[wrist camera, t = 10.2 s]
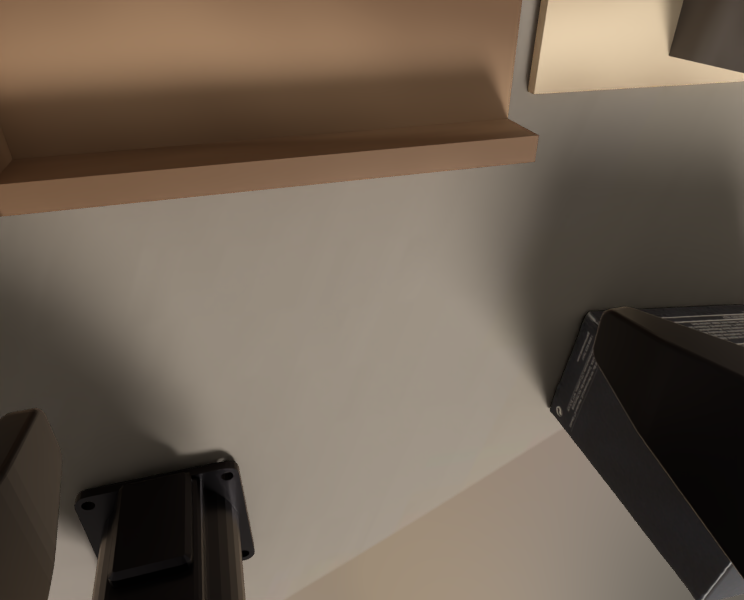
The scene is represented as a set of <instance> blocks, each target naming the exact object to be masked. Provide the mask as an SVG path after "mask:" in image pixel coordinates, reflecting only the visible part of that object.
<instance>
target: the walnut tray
mask: <svg viewBox="0 0 744 600" xmlns="http://www.w3.org/2000/svg"><path fill="white" fill-rule="evenodd" d="M521 5H522V0H0V217H1V216H11V215H20V214H30V213H40V212H50V211H59V210H69V209H79V208H89V207H98V206H108V205H118V204H128V203H137V202H147V201H157V200H167V199H176V198H186V197H196V196H206V195H215V194H225V193H235V192H245V191H254V190H264V189H274V188H284V187H293V186H303V185H313V184H323V183H332V182H342V181H352V180H362V179H371V178H381V177H391V176H401V175H410V174H420V173H430V172H439V171H449V170H459V169H469V168H478V167H488V166H498V165H508V164H517V163H527V162H535V157H536V150H537V144H538V137H539V135H537V134H535V133H533V132H532V131H530V130H528V129H526V128H524V127H522V126H520V125H519V124H517V123H515V122H513V121H511V120H509V119H508V111H509V103H510V95H511V87H512V78H513V70H514V62H515V54H516V46H517V38H518V30H519V21H520V13H521Z"/></svg>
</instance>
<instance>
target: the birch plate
mask: <svg viewBox="0 0 744 600" xmlns="http://www.w3.org/2000/svg"><path fill="white" fill-rule="evenodd" d="M740 81H744V0H541V4H540V11H539V18H538V24H537V31H536V38H535V45H534V52H533V59H532V65H531V72H530V79H529V86H528V92H530V93H533V94H544V93H560V92H577V91H593V90H609V89H626V88H642V87H658V86H675V85H691V84H707V83H724V82H740Z"/></svg>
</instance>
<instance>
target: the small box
mask: <svg viewBox="0 0 744 600" xmlns="http://www.w3.org/2000/svg"><path fill="white" fill-rule="evenodd" d="M637 310H640V311H643V312H646V313H649V314H652V315H655V316H658V317H660V318H663V319H666V320H669V321H672V322H675V323H678V324H681V325H684V326H687V327H689V328H692V329H695V330H698V331H701V332H704V333H707V334H710V335H713V336H715V337H718V338H721V339H724V340H727V341H730V342H733V343H736V344H739V345H741V346H744V305H724V306H701V307H700V306H698V307H678V308H652V309H637ZM603 313H604V311H590V312H588V314H587V315H586V316H585V319H584V321H583V323H582V325H581V329H580V332H579V335H578V338H577V340H576V343H575V345H574V348H573V351H572V353H571V356H570V358H569V361H568V363H567V366H566V368H565V371H564V373H563V376H562V378H561V381H560V383H559V385H558V386H557V390H556V393H555V396H554V398H553V402H552V404H551V408H550V412H551V413H552V414H553V415H554V416H555V417H556V419H557V420H558V421H559V422H560V424H561V425H562V426H563V428H564V429H565V430H566V431H567V433H568V434H569V435H570V436H571V438H572V439H573V440H574V442H575V443H576V444H577V446H578V447H579V448H580V449H581V451H582V452H583V453H584V455H585V456H586V457H587V459H588V460H589V461H590V462H591V464H592V465H593V466H594V468H595V469H596V470H597V471H598V473H599V474H600V475H601V477H602V478H603V479H604V481H605V482H606V483H607V484H608V485H609V487H610V488H611V490H612V491H613V492H614V493H615V494H616V496H617V497H618V499H619V500H620V501H621V502H622V504H623V505H624V506H625V508H626V509H627V510H628V512H629V513H630V514H631V516H632V517H633V518H634V520H635V521H636V522H637V524H638V525H639V526H640V527H641V529H642V530H643V531H644V533H645V534H646V535H647V536H648V538H649V539H650V540H651V542H652V543H653V544H654V545H655V547H656V548H657V550H658V551H659V552H660V554H661V555H662V556H663V557H664V559H665V560H666V561H667V562H668V564H669V565H670V566H671V567H672V569H673V570H674V571H675V572H676V574H677V575H678V577H679V578H680V579H681V581H682V582H683V583H684V584H685V586H686V587H687V588H688V590H689V591H690V592H691V594H692V596H693V597H694V599H695V600H721V599H725V598H729V597H733V596H737V595H741V594H744V579H743V578H742V577H741V575H740V574H739V573H738V571H737V570H736V568H735V567H734V566H733V564H732V563H731V561H730V560H729V559H728V557H727V556H726V555H725V553H724V552H723V550H722V549H721V548H720V546H719V545H718V543H717V542H716V541H715V539H714V538H713V537H712V535H711V534H710V532H709V531H708V530H707V528H706V527H705V525H704V524H703V523H702V521H701V520H700V519H699V517H698V516H697V514H696V513H695V512H694V510H693V509H692V507H691V506H690V505H689V503H688V502H687V501H686V499H685V498H684V496H683V495H682V494H681V492H680V491H679V489H678V488H677V487H676V485H675V484H674V483H673V481H672V480H671V478H670V477H669V476H668V474H667V473H666V472H665V470H664V469H663V467H662V466H661V465H660V463H659V462H658V460H657V459H656V458H655V456H654V455H653V454H652V452H651V451H650V449H649V448H648V447H647V445H646V444H645V442H644V441H643V440H642V438H641V437H640V435H639V434H638V432H637V431H636V429H635V428H634V426H633V424H632V423H631V421H630V419H629V418H628V416H627V414H626V413H625V411H624V409H623V407H622V406H621V404H620V402H619V400H618V399H617V397H616V395H615V394H614V392H613V390H612V388H611V387H610V385H609V383H608V382H607V380H606V378H605V376H604V375H603V373H602V371H601V370H600V368H599V366H598V364H597V363H596V361H595V358H594V354H593V345H594V341H595V337H596V334H597V330H598V326H599V322H600V318H601V316H602V314H603Z"/></svg>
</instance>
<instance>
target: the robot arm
mask: <svg viewBox="0 0 744 600" xmlns="http://www.w3.org/2000/svg"><path fill="white" fill-rule="evenodd" d="M593 354H594V358H595V361H596V363H597V364H598V366H599V368H600V370H601V371H602V373H603V375H604V376H605V378H606V380H607V382H608V383H609V385H610V387H611V388H612V390H613V392H614V394H615V395H616V397H617V399H618V400H619V402H620V404H621V406H622V407H623V409H624V411H625V413H626V414H627V416H628V418H629V419H630V421H631V423H632V424H633V426H634V428H635V429H636V431H637V432H638V434H639V435H640V437H641V438H642V440H643V441H644V442H645V444H646V445H647V447H648V448H649V449H650V451H651V452H652V454H653V455H654V456H655V458H656V459H657V460H658V462H659V463H660V465H661V466H662V467H663V469H664V470H665V472H666V473H667V474H668V476H669V477H670V478H671V480H672V481H673V483H674V484H675V485H676V487H677V488H678V489H679V491H680V492H681V494H682V495H683V496H684V498H685V499H686V501H687V502H688V503H689V505H690V506H691V507H692V509H693V510H694V512H695V513H696V514H697V516H698V517H699V519H700V520H701V521H702V523H703V524H704V525H705V527H706V528H707V530H708V531H709V532H710V534H711V535H712V537H713V538H714V539H715V541H716V542H717V543H718V545H719V546H720V548H721V549H722V550H723V552H724V553H725V555H726V556H727V557H728V559H729V560H730V561H731V563H732V564H733V566H734V567H735V568H736V570H737V571H738V573H739V574H740V575H741V577H742V578H743V579H744V346H741V345H739V344H736V343H733V342H730V341H727V340H724V339H721V338H718V337H715V336H713V335H710V334H707V333H704V332H701V331H698V330H695V329H692V328H689V327H687V326H684V325H681V324H678V323H675V322H672V321H669V320H666V319H663V318H660V317H658V316H655V315H652V314H649V313H646V312H643V311H640V310H637V309H634V308H632V307H618V308H612V309H608V310H606V311H604V313H603V314H602V316H601V318H600V322H599V326H598V330H597V334H596V337H595V341H594V345H593ZM226 472H230V473H226ZM61 475H62V454H61V450H60V447H59V445H58V442H57V440H56V438H55V435H54V433H53V431H52V428H51V426H50V424H49V422H48V419H47V417H46V415H45V413H44V412H43V411H42V410H40V409H38V408H33V409H27V410H21V411H15V412H11V413H8V414H6V415H5V416H3V417H2V418H1V419H0V600H48V595H49V591H50V586H51V580H52V575H53V569H54V561H55V552H56V540H57V527H58V514H59V501H60V488H61ZM75 510H76V512H77V514H78V517H79V519H80V521H81V523H82V525H83V528H84V530H85V532H86V534H87V537H88V539H89V541H90V543H91V545H92V548H93V550H94V552H95V554H96V556H97V559H98V562H97V569H96V576H95V582H94V589H93V596H92V600H246V599H245V587H244V576H243V564H242V561H243V560H247V559H249V558H251V557H252V556H253V555H254V552H255V551H254V542H253V537H252V532H251V527H250V522H249V517H248V512H247V507H246V502H245V496H244V491H243V486H242V481H241V476H240V471H239V466H238V464H237V463H235V462H233V461H224V462H219V463H214V464H209V465H204V466H199V467H195V468H190V469H185V470H180V471H175V472H170V473H166V474H161V475H156V476H151V477H146V478H141V479H137V480H132V481H127V482H122V483H117V484H112V485H108V486H103V487H98V488H93V489H88V490H85V491H82V492H80V493H79V494H78V495H77V497H76V501H75Z"/></svg>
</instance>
